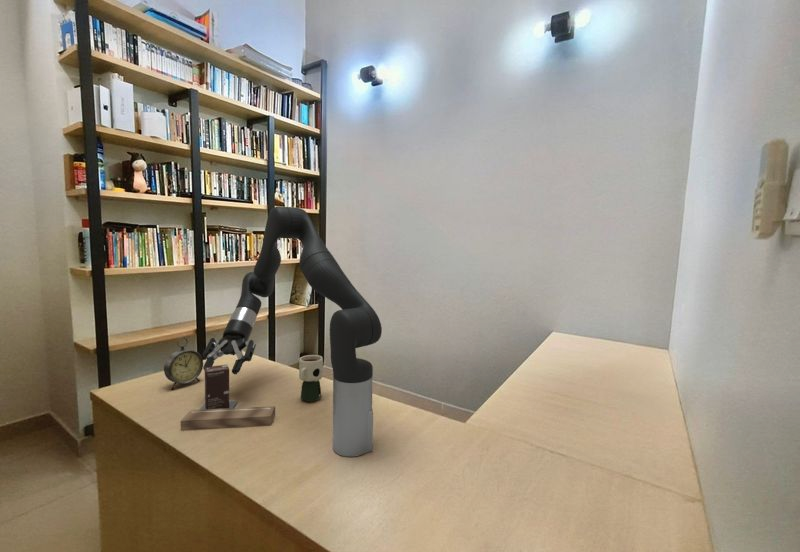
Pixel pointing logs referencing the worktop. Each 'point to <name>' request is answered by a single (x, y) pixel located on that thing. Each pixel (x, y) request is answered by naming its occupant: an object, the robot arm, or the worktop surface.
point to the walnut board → (228, 418)
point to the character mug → (310, 376)
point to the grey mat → (231, 404)
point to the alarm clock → (183, 366)
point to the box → (217, 387)
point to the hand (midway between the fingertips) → (220, 372)
